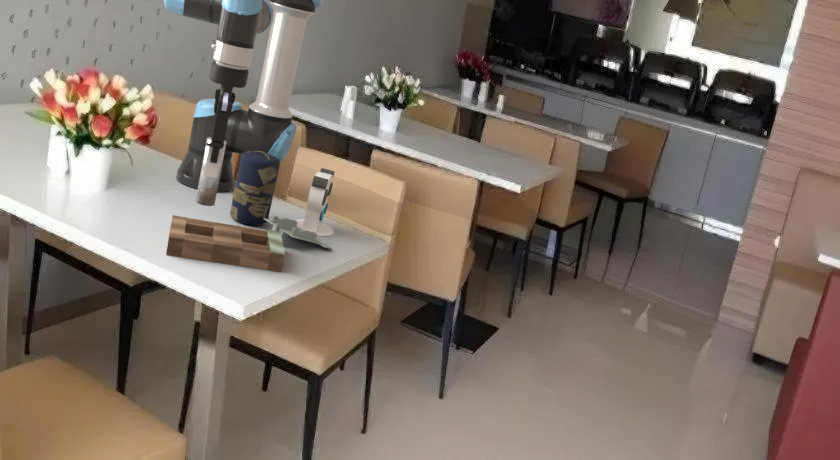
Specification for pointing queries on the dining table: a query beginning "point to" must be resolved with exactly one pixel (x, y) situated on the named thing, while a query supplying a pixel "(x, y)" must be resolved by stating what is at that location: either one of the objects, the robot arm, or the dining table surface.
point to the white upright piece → (318, 204)
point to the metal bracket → (294, 230)
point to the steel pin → (208, 181)
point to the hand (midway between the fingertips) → (210, 173)
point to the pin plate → (225, 244)
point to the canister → (254, 187)
